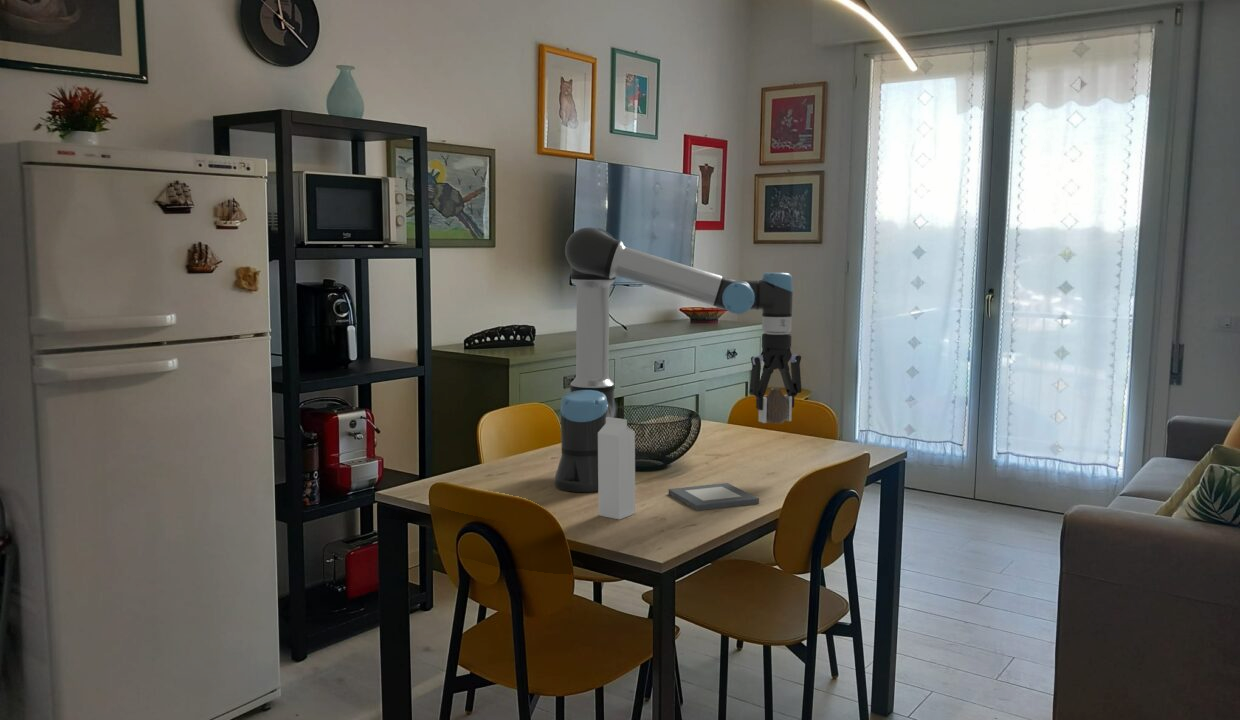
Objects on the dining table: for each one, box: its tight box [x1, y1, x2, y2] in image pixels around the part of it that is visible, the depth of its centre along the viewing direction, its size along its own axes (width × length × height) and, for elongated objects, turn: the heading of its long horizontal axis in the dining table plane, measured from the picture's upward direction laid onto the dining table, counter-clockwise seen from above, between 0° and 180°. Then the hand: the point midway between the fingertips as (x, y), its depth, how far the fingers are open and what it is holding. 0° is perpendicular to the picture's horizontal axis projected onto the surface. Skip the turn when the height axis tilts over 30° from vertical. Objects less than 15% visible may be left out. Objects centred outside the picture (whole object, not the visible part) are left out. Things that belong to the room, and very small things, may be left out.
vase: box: [764, 387, 789, 425], centre depth 244 cm, size 7×7×9 cm
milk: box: [597, 417, 636, 521], centre depth 211 cm, size 6×6×22 cm
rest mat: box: [668, 482, 760, 512], centre depth 225 cm, size 16×16×1 cm
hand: (774, 421), depth 244 cm, fingers closed on vase, 7 cm apart
